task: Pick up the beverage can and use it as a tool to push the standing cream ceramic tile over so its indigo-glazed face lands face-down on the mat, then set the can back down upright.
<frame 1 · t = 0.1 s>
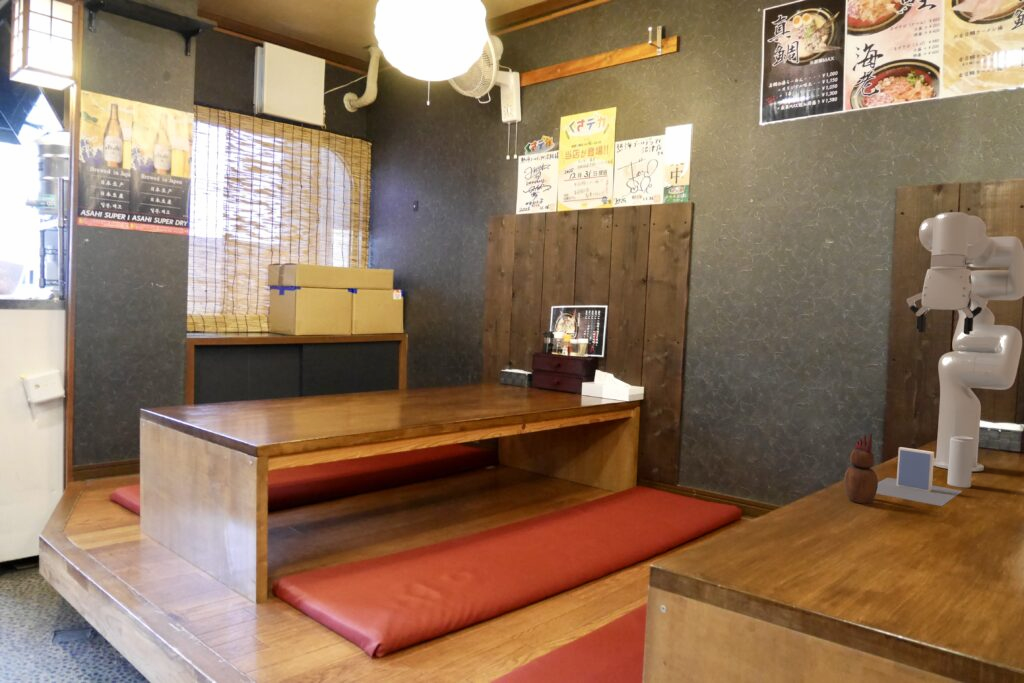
hand: (943, 333, 174), 37 cm above the table, tool pointing down, fingers open, 9 cm apart
wooden figurine: (859, 502, 152), on the table
mat: (912, 492, 162), on the table
beverage can: (958, 487, 169), on the table
tile: (913, 488, 164), resting on mat
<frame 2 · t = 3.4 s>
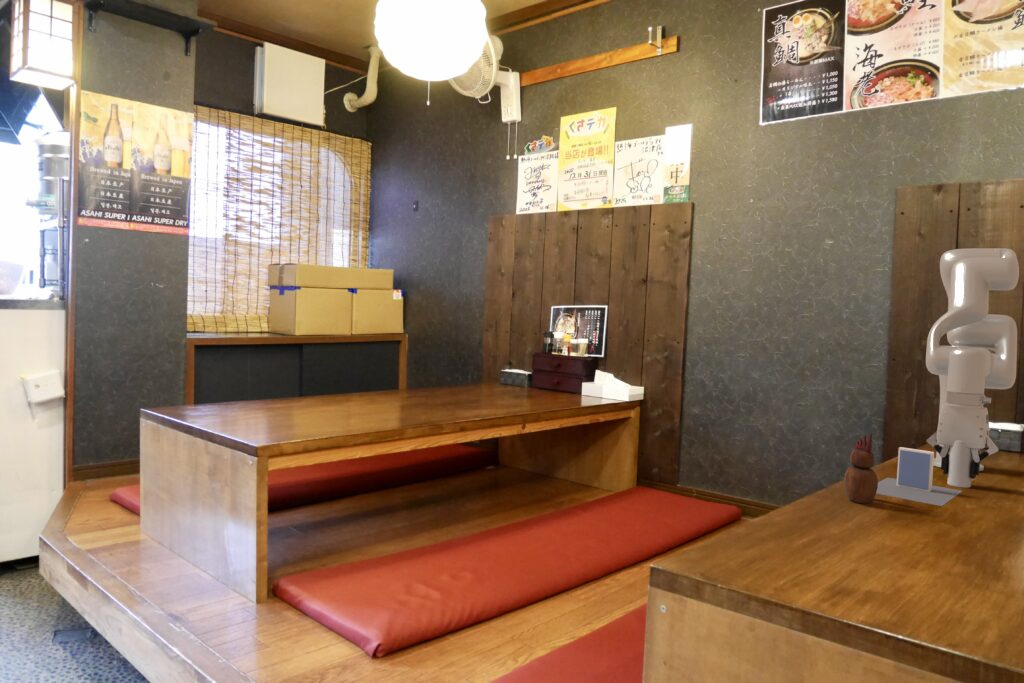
hand: (959, 474, 169), 3 cm above the table, tool pointing down, fingers closed on beverage can, 4 cm apart
beverage can: (958, 487, 169), on the table, touching gripper
everything else where it was.
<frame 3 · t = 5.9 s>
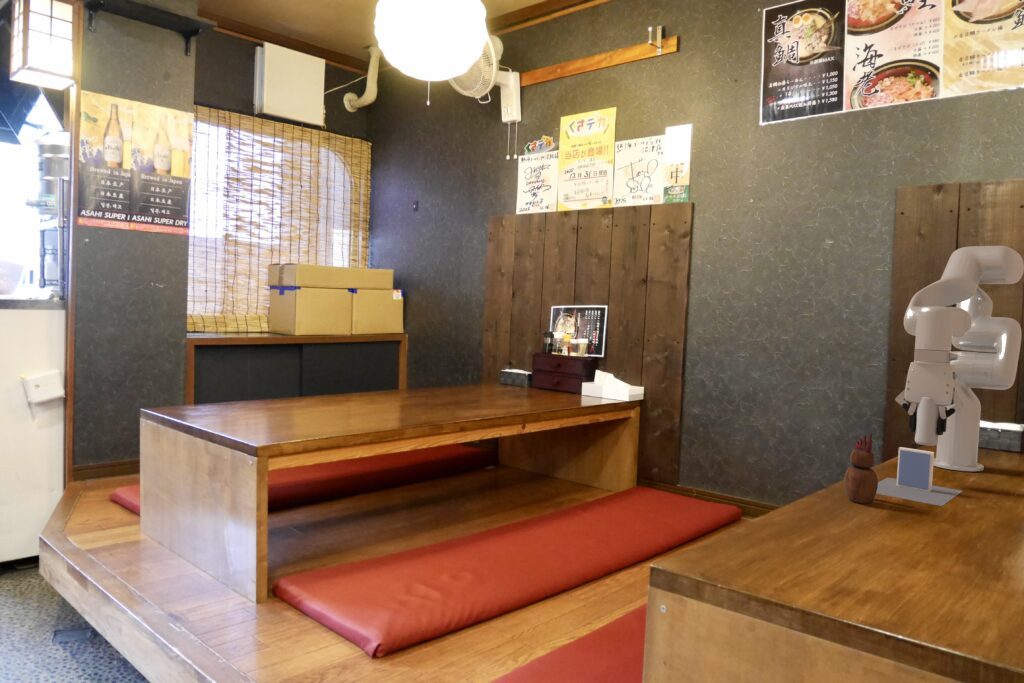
hand: (926, 432, 170), 13 cm above the table, tool pointing down, fingers closed on beverage can, 4 cm apart
beverage can: (925, 445, 170), point 10 cm above the table, touching gripper
everything else where it was.
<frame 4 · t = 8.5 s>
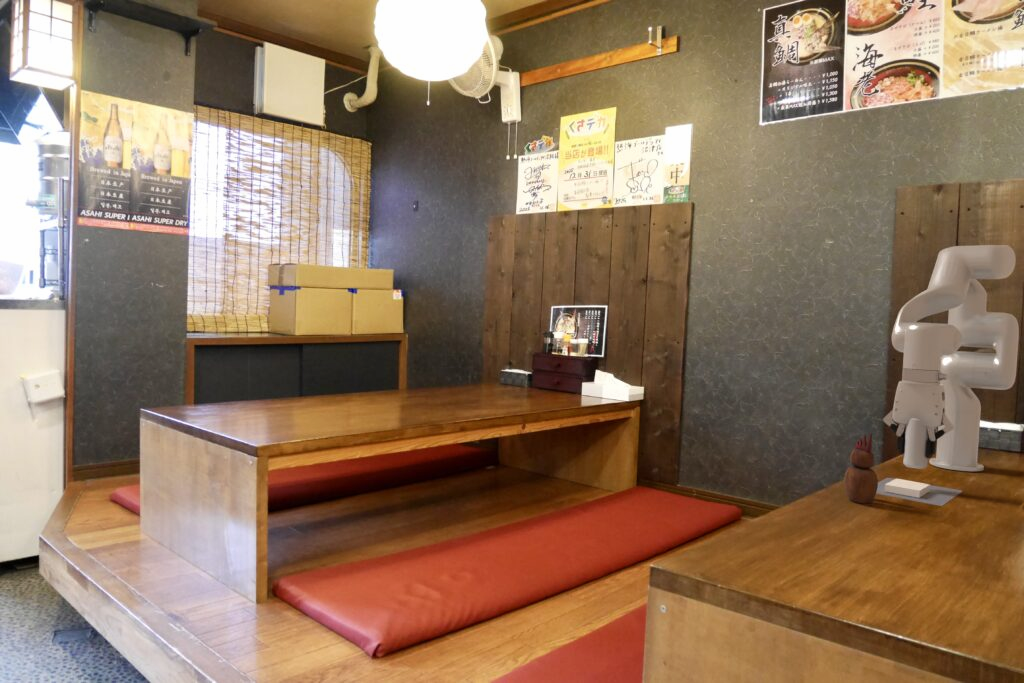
hand: (915, 454, 164), 8 cm above the table, tool pointing down, fingers closed on beverage can, 4 cm apart
beverage can: (914, 467, 164), point 5 cm above the table, touching gripper
tile: (912, 484, 164), point 1 cm above the table, tilted 90°, touching mat
everything else where it was.
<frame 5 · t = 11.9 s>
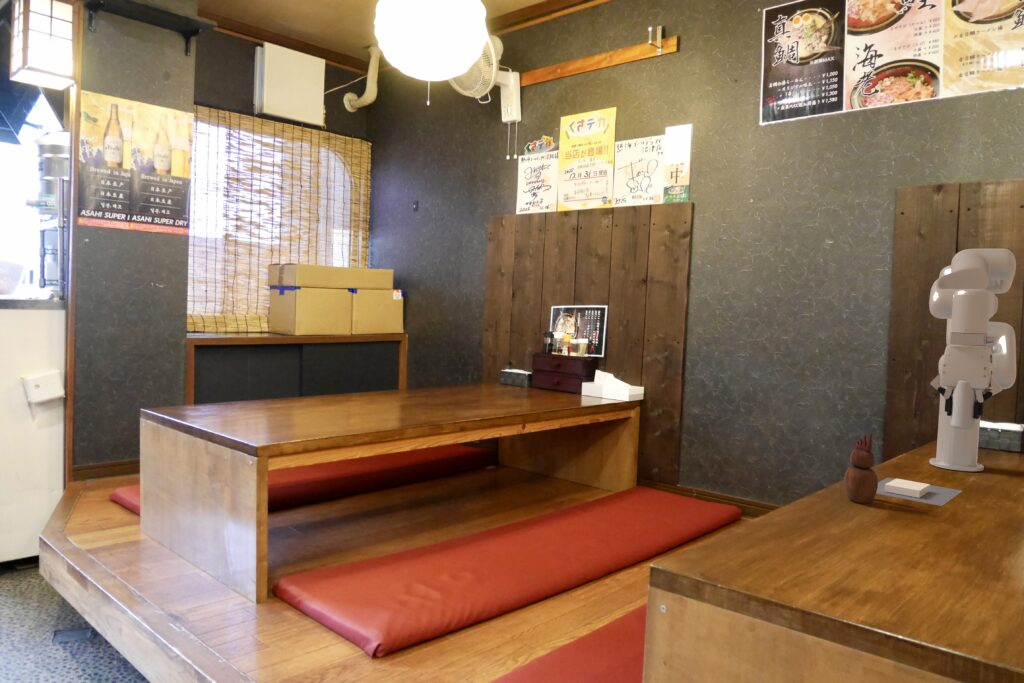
hand: (963, 416, 169), 17 cm above the table, tool pointing down, fingers closed on beverage can, 4 cm apart
beverage can: (962, 428, 169), point 14 cm above the table, touching gripper
everything else where it was.
when the fingers open (4 cm above the table, at t = 14.7 s): beverage can drops 1 cm, on the table.
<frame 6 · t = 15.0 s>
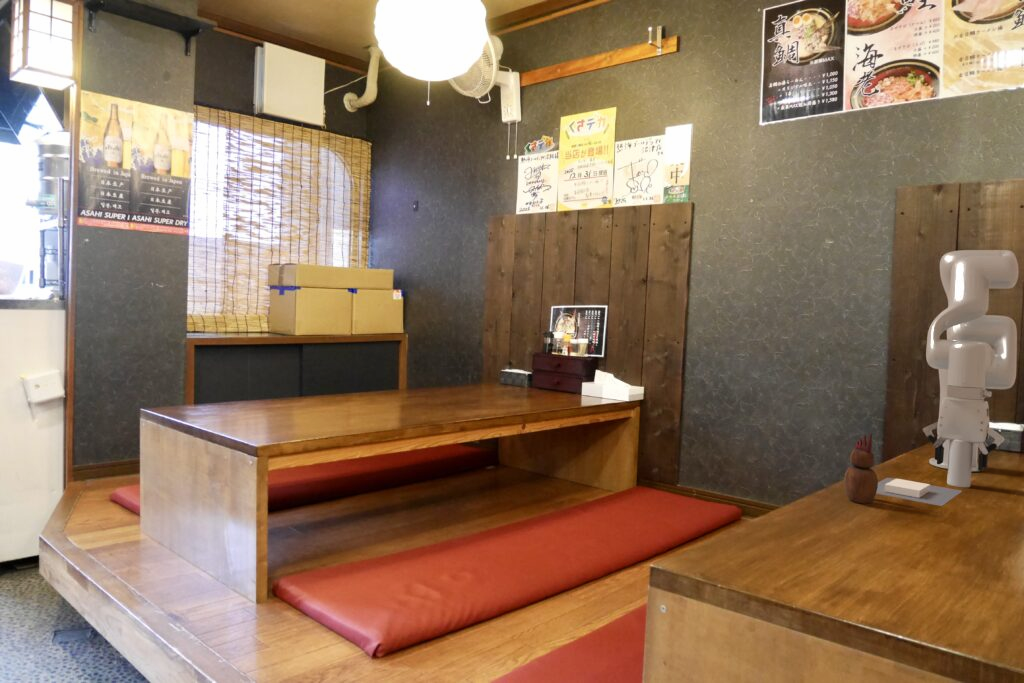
hand: (960, 466, 169), 5 cm above the table, tool pointing down, fingers open, 8 cm apart
beverage can: (958, 487, 170), on the table
everything else where it was.
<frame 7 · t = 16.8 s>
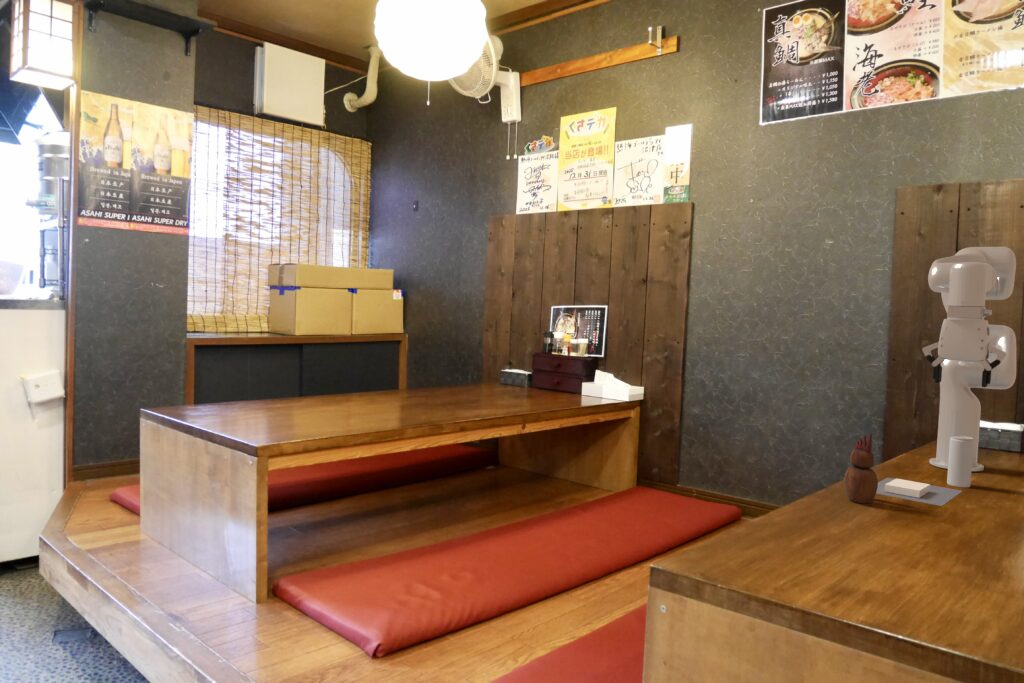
hand: (960, 384, 171), 24 cm above the table, tool pointing down, fingers open, 9 cm apart
nothing on the table moved.
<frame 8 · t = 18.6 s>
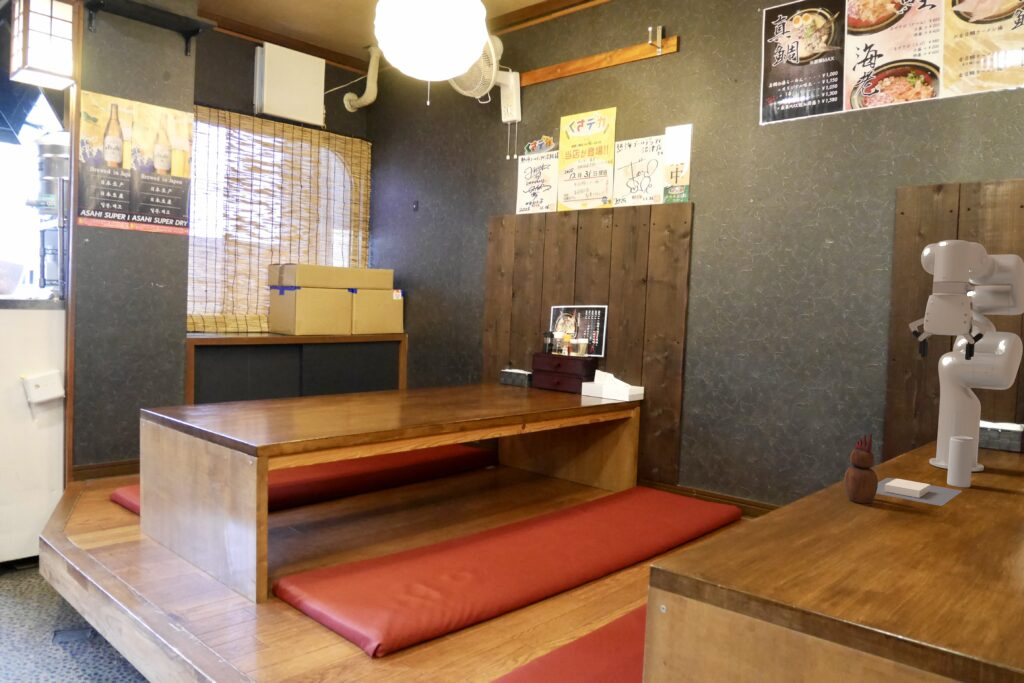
hand: (945, 358, 177), 30 cm above the table, tool pointing down, fingers open, 9 cm apart
nothing on the table moved.
at the end: tile tilted 90°; beverage can inside the target area (0.6 cm from its centre), on the table; beverage can tilted 0° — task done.
